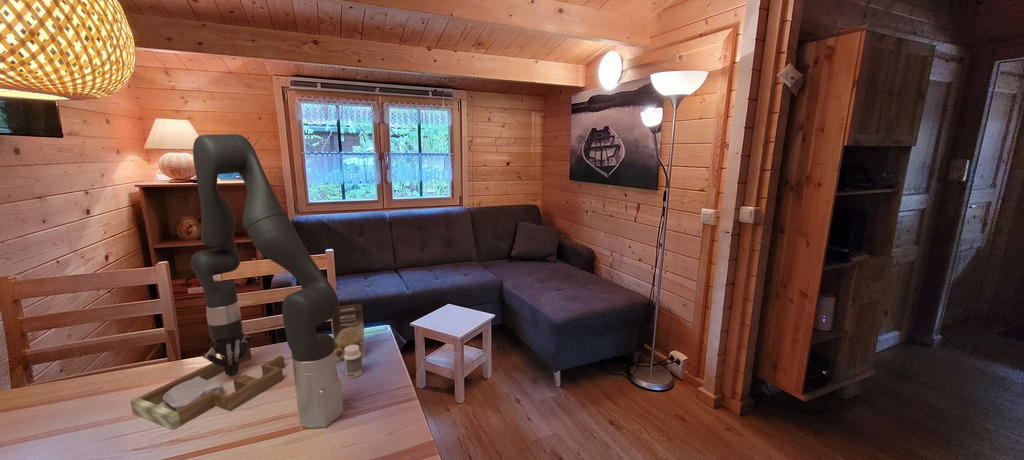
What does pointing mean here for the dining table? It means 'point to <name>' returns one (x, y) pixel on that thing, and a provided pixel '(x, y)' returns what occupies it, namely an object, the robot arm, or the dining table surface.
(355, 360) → the pill bottle
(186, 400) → the stone block
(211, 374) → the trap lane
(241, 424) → the dining table surface
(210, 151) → the robot arm
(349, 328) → the coffee box
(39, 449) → the dining table surface
